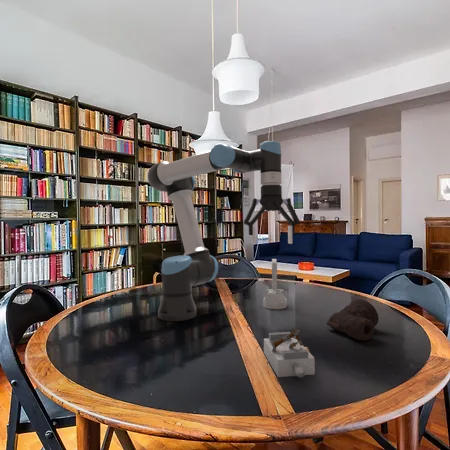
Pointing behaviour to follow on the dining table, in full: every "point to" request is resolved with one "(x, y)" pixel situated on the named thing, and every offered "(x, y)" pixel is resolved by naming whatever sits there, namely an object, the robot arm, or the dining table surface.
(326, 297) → the dining table surface
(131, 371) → the dining table surface
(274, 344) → the wooden post with brackets
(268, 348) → the machine vise
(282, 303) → the engine component
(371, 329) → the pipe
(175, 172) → the robot arm
